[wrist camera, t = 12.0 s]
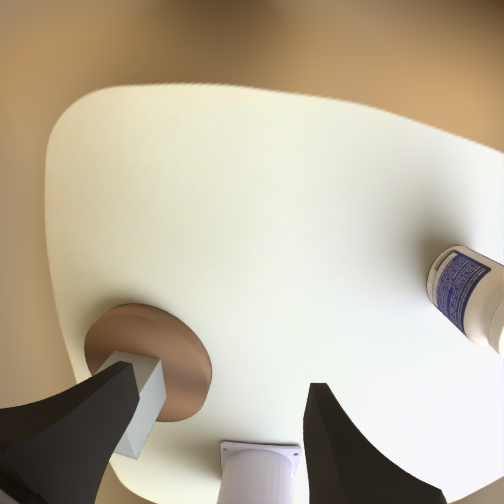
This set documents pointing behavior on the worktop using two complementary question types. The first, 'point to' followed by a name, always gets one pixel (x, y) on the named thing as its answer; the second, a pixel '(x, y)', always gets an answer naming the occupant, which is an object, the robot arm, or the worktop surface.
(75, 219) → the worktop surface
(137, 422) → the block
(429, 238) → the worktop surface
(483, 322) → the pill bottle
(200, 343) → the plinth
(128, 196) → the worktop surface
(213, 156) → the worktop surface
